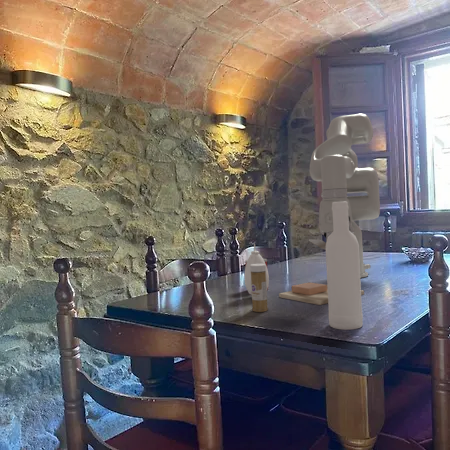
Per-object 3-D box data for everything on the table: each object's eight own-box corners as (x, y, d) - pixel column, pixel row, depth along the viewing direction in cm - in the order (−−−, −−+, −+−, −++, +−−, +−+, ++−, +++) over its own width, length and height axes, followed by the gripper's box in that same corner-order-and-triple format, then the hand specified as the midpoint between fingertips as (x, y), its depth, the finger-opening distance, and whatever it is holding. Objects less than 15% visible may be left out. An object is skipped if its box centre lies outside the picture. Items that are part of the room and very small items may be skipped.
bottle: (353, 331, 104) (347, 201, 102) (323, 327, 109) (316, 203, 108) (368, 323, 110) (362, 200, 108) (338, 319, 115) (333, 202, 114)
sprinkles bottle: (249, 311, 130) (246, 265, 129) (258, 308, 133) (255, 262, 133) (262, 313, 127) (259, 265, 126) (271, 309, 130) (268, 263, 130)
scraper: (338, 258, 145) (341, 248, 146) (351, 259, 141) (354, 249, 142) (308, 240, 137) (311, 229, 138) (320, 240, 133) (323, 230, 134)
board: (322, 287, 159) (322, 284, 159) (364, 294, 144) (363, 290, 144) (279, 297, 147) (279, 293, 147) (319, 305, 133) (319, 301, 133)
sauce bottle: (253, 301, 143) (250, 244, 143) (241, 297, 150) (238, 243, 150) (274, 297, 147) (271, 242, 146) (261, 294, 154) (258, 241, 153)
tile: (309, 282, 152) (291, 285, 148) (327, 284, 146) (309, 288, 141) (309, 288, 152) (292, 292, 148) (327, 291, 146) (309, 295, 141)
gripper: (307, 197, 145) (310, 254, 146) (347, 194, 132) (350, 256, 132) (323, 196, 149) (326, 251, 150) (363, 193, 136) (366, 254, 136)
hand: (337, 253), depth 141 cm, fingers closed on scraper, 3 cm apart
